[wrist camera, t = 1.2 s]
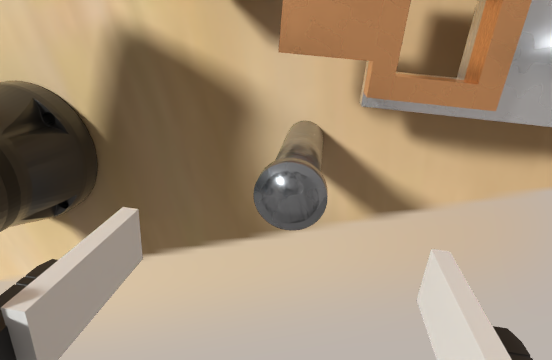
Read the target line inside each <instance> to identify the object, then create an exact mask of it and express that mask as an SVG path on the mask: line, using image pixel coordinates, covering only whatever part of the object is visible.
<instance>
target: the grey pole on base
mask: <svg viewBox="0 0 552 360" xmlns="http://www.w3.org/2000/svg"><path fill="white" fill-rule="evenodd" d="M410 2H411V0H283V4H282V16H281V28H280V41H279V52H282V53H293V54H303V55H314V56H324V57H334V58H345V59H355V60H365V61H367V62H366V68H365V73H364V79H363V85H362V91H361V96H360V102H359V103H360V105H361V106H363V107H373V108H382V109H391V110H400V111H409V112H418V113H427V114H437V115H446V116H455V117H464V118H473V119H482V120H491V121H501V122H510V123H519V124H528V125H537V126H546V127H552V0H478V1H477V5H476V9H475V12H474V16H473V20H472V23H471V27H470V31H469V35H468V38H467V42H466V46H465V49H464V53H463V57H462V60H461V64H460V68H459V71H458V75H457V78H454V77H444V76H434V75H424V74H413V73H403V72H396V70H397V65H398V60H399V55H400V50H401V46H402V41H403V36H404V31H405V26H406V21H407V17H408V12H409V7H410Z"/></svg>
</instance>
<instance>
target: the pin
mask: <svg viewBox="0 0 552 360" xmlns="http://www.w3.org/2000/svg"><path fill="white" fill-rule="evenodd" d="M322 152H323V133H322V131H321V129H320V128H319V127H318V126H317V125H316V124H314V123H312V122H310V121H301V122H298V123H296V124H294V125H293V126H292V127H291V128H290V130H289V132H288V134H287V136H286V138H285V140H284V142H283V145H282V147H281V149H280V151H279V153H278V156H277V158H276V160H275V161H274V162H272V163H271V164H269V165H268V166H267V167H266V168H265V169H264V170H263V171H262V173H261V174H260V176H259V178H258V180H257V182H256V184H255V188H254V202H255V206H256V208H257V210H258V212H259V213H260V215H261V216H262V217H263V218H264V219H265V220H266V221H267V222H268V223H270V224H271V225H273V226H275V227H277V228H280V229H284V230H300V229H304V228H307V227H309V226H311V225H313V224H314V223H315V222H317V221H318V220H319V219H320V217H321V216H322V215H323V213H324V211H325V208H326V205H327V185H326V181H325V179H324V177H323V175H322V174H321V165H322Z"/></svg>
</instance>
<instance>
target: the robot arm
mask: <svg viewBox="0 0 552 360" xmlns="http://www.w3.org/2000/svg"><path fill="white" fill-rule="evenodd" d="M96 176H97V157H96V151H95V147H94V144H93V141H92V139H91V136H90V134H89V132H88V130H87V128H86V127H85V125H84V123H83V122H82V120H81V119H80V118H79V116H78V115H77V114H76V113H75V112H74V110H73V109H72V108H71V107H70V106H69V105H68V104H67V103H66V102H64V101H63V100H62V99H61V98H59V97H58V96H57V95H55V94H54V93H52V92H50V91H49V90H47V89H45V88H43V87H40V86H38V85H35V84H32V83H28V82H22V81H7V82H0V232H1V231H3V230H4V229H6V228H8V227H11V226H16V225H20V224H25V223H30V222H34V221H39V220H43V219H48V218H52V217H56V216H59V215H61V214H63V213H65V212H67V211H69V210H70V209H72V208H73V207H75V206H76V205H78V204H79V203H81V202H82V201H83V200H84V199H85V198H86V197H87V196H88V195H89V193H90V192H91V190H92V188H93V186H94V183H95V180H96ZM142 259H143V257H142V245H141V233H140V221H139V209H135V208H127V207H122V208H121V209H120V210H118V211H117V212H116V213H115V214H114V215H112V216H111V217H110V218H109V219H108V220H106V221H105V222H104V223H103V224H102V225H100V226H99V227H98V228H97V229H95V230H94V231H93V232H92V233H91V234H89V235H88V236H87V237H86V238H85V239H83V240H82V241H81V242H80V243H78V244H77V245H76V246H75V247H74V248H72V249H71V250H70V251H69V252H68V253H66V254H65V255H64V256H63V257H61V258H60V259H59V260H55V259H52V260H49V261H47V262H45V263H43V264H41V265H39V266H37V267H36V268H35V269H33V270H32V271H31V272H29V273H28V274H27V275H26V277H23V278H22V279H21V280H19V281H18V282H17V283H16V285H13V286H12V287H10V288H9V289H8V290H7V291H5V292H4V293H3V294H1V295H0V360H58V359H59V358H60V357H61V356H62V354H63V353H64V352H65V351H66V350H67V349H68V347H69V346H70V345H71V344H72V343H73V341H74V340H75V339H76V338H77V337H78V335H79V334H80V333H81V332H82V331H83V329H84V328H85V327H86V326H87V325H88V323H89V322H90V321H91V320H92V319H93V318H94V316H95V315H96V314H97V313H98V312H99V310H100V309H101V308H102V307H103V306H104V304H105V303H106V302H107V301H108V300H109V298H110V297H111V296H112V295H113V294H114V292H115V291H116V290H117V289H118V288H119V286H120V285H121V284H122V283H123V282H124V281H125V279H126V278H127V277H128V276H129V275H130V273H131V272H132V271H133V270H134V269H135V267H136V266H137V265H138V264H139V263H140V261H141V260H142ZM417 303H418V306H419V309H420V312H421V315H422V318H423V321H424V323H425V326H426V329H427V332H428V335H429V338H430V341H431V344H432V347H433V350H434V353H435V356H436V359H437V360H533V359H532V358H530V354H529V353H528V351H527V350H526V348H525V346H524V345H523V343H522V342H521V341H520V340H519V339H518V338H517V337H516V336H515V335H514V334H513V333H512V332H511V331H509V330H508V329H507V328H500V327H494V326H492V324H491V323H490V321H489V319H488V317H487V316H486V314H485V312H484V310H483V308H482V307H481V305H480V303H479V301H478V300H477V298H476V296H475V294H474V293H473V291H472V289H471V287H470V286H469V284H468V282H467V280H466V279H465V277H464V275H463V273H462V272H461V270H460V268H459V266H458V265H457V263H456V261H455V259H454V258H453V256H452V254H451V253H450V252H449V251H442V250H435V249H431V252H430V256H429V259H428V262H427V266H426V269H425V273H424V276H423V280H422V283H421V287H420V291H419V294H418V297H417Z"/></svg>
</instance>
